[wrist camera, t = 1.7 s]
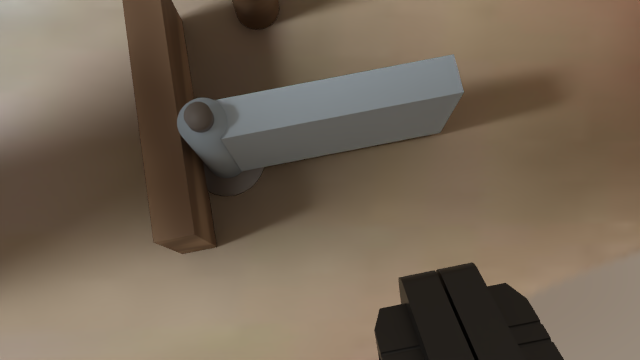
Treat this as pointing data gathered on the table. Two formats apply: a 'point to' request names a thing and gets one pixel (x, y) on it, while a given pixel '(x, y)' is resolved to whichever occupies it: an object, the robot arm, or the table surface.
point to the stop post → (256, 12)
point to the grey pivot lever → (326, 116)
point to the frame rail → (173, 130)
